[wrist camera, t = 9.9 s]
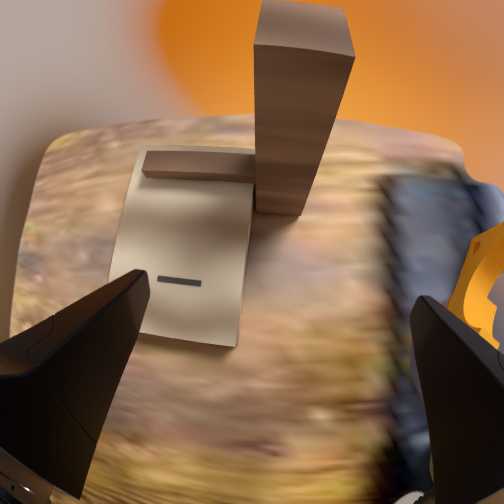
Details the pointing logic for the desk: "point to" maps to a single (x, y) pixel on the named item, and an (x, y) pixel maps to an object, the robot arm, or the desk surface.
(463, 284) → the pipe clamp
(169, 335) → the pine board
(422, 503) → the eagle figurine
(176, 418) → the desk surface
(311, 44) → the tan upright block
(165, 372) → the desk surface
